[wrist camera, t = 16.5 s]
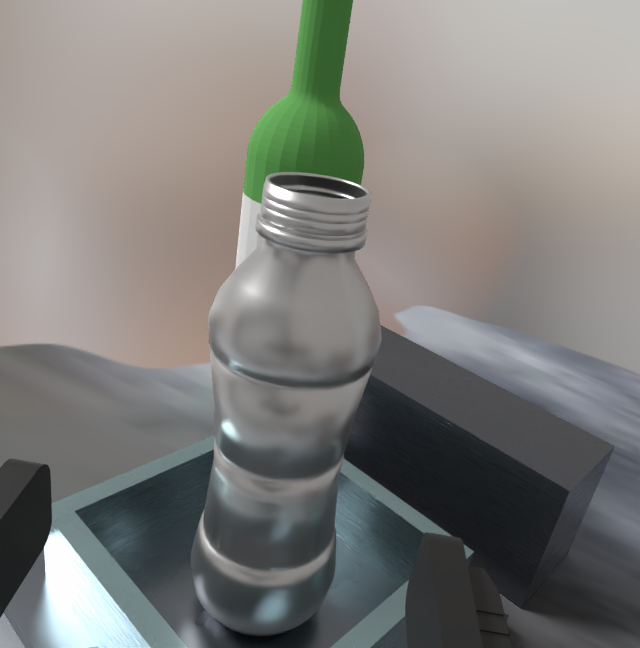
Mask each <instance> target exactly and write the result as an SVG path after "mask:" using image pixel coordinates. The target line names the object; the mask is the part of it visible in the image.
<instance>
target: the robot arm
mask: <svg viewBox="0 0 640 648" xmlns="http://www.w3.org/2000/svg"><path fill="white" fill-rule="evenodd" d="M51 524H52V503H51V479H50V469H49V466H48V465H46V464H40V463H35V462H29V461H23V460H17V459H9V460H7V461H6V462H5V463H4V464H3V465H2V466H1V468H0V617H1V616H2V614H3V612H4V611H5V609H6V608H7V606H8V604H9V603H10V601H11V600H12V598H13V596H14V595H15V593H16V592H17V590H18V588H19V587H20V585H21V584H22V582H23V580H24V579H25V577H26V576H27V574H28V572H29V571H30V569H31V568H32V566H33V564H34V563H35V561H36V560H37V558H38V556H39V555H40V553H41V552H42V550H43V548H44V546H45V544H46V542H47V539H48V537H49V533H50V530H51ZM405 617H406V632H407V648H512V645H511V640H510V639H509V632H508V628H507V623H506V619H504V611H503V606H502V602H501V598H500V594H499V590H498V589H497V587H496V586H495V584H494V583H493V581H492V580H491V578H490V577H489V575H488V574H487V572H486V571H485V569H484V568H478V567H473V566H468V565H467V560H466V554H465V549H464V544H463V541H462V539H461V538H458V537H452V536H446V535H440V534H435V533H429V532H426V533H425V534H424V536H423V538H422V541H421V544H420V548H419V551H418V554H417V557H416V560H415V563H414V566H413V570H412V573H411V576H410V579H409V582H408V587H407V593H406V602H405Z"/></svg>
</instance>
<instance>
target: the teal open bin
mask: <svg viewBox="0 0 640 648" xmlns="http://www.w3.org/2000/svg"><path fill="white" fill-rule="evenodd" d="M380 327H381V337H382V340H381V343H380V347H379V350H378V354H377V358H376V361H375V363H374V366H373V368H372V371H371V374H370V376H369V379H368V382H367V384H366V387H365V390H364V392H363V395H362V398H361V400H360V403H359V406H358V408H357V411H356V414H355V416H354V419H353V423H352V427H351V431H350V435H349V439H348V443H347V446H346V449H345V452H344V458H343V462H342V466H341V470H340V473H339V482H338V493H337V504H336V515H335V528H336V568H335V574H334V578H333V581H332V583H331V586H330V588H329V590H328V592H327V594H326V596H325V599H324V601H323V602H322V604H321V606H320V607H319V609H318V610H317V612H316V613H315V614H314V615H313V616H312V617H311V618H310V619H308V620H307V621H305V622H304V623H302V624H301V625H299V626H297V627H295V628H293V629H290V630H288V631H286V632H283V633H280V634H276V635H271V636H252V635H245V634H242V633H239V632H236V631H233V630H231V629H230V628H228V627H226V626H224V625H223V624H221V623H220V622H219V621H218V620H216V619H215V618H214V617H213V616H211V615H210V614H209V613H208V612H207V611H206V609H205V608H204V607H203V606H202V605H201V603H200V601H199V599H198V597H197V595H196V590H195V586H194V580H193V574H192V569H191V551H192V547H193V543H194V538H195V534H196V530H197V527H198V524H199V521H200V519H201V516H202V513H203V510H204V508H205V503H206V497H207V492H208V486H209V481H210V476H211V470H212V465H213V459H214V438H215V437H214V435H213V436H211V437H208V438H206V439H203V440H201V441H199V442H196V443H194V444H192V445H189V446H187V447H185V448H182V449H180V450H178V451H175V452H173V453H170V454H168V455H166V456H163V457H161V458H159V459H156V460H154V461H152V462H149V463H147V464H144V465H142V466H140V467H137V468H135V469H133V470H130V471H128V472H126V473H123V474H121V475H118V476H116V477H114V478H111V479H109V480H107V481H104V482H102V483H100V484H97V485H95V486H92V487H90V488H88V489H85V490H83V491H81V492H78V493H76V494H74V495H71V496H69V497H67V498H64V499H62V500H59V501H57V502H55V503H52V524H51V530H50V533H49V537H48V539H47V542H46V544H45V546H44V548H43V550H42V552H41V553H40V555H39V556H38V558H37V560H36V561H35V563H34V564H33V566H32V568H31V569H30V571H29V572H28V574H27V576H26V577H25V579H24V580H23V582H22V584H21V585H20V587H19V588H18V590H17V592H16V593H15V595H14V596H13V598H12V600H11V601H10V603H9V604H8V606H7V608H6V609H5V611H4V613H5V615H6V617H7V618H8V620H9V621H10V623H11V625H12V626H13V628H14V630H15V631H16V633H17V635H18V636H19V638H20V639H21V641H22V643H23V644H24V646H25V648H407V632H406V617H405V602H406V593H407V587H408V582H409V579H410V576H411V573H412V570H413V566H414V563H415V560H416V557H417V554H418V551H419V548H420V544H421V541H422V538H423V536H424V534H425V533H426V532H429V533H435V534H440V535H446V536H452V537H458V538H461V539H462V541H463V544H464V549H465V554H466V560H467V565H468V566H473V567H478V568H484V569H485V571H486V572H487V574H488V575H489V577H490V578H491V580H492V581H493V583H494V584H495V586H496V587H497V589H498V590H499V592H500V593H501V594H502V595H504V596H505V597H506V598H508V599H509V600H511V601H512V602H513V603H515V604H516V605H517V606H519V607H520V608H522V606H523V605H524V604H525V603H526V602H527V601H528V599H529V598H530V597H531V596H532V595H533V594H534V592H535V591H536V590H537V589H538V588H539V587H540V585H541V584H542V583H543V582H544V581H545V580H546V578H547V577H548V576H549V575H550V574H551V573H552V571H553V570H554V569H555V568H556V567H557V566H558V564H559V563H560V562H561V561H562V560H563V559H564V557H565V556H566V555H567V553H568V551H569V549H570V547H571V544H572V542H573V540H574V537H575V535H576V533H577V531H578V528H579V526H580V524H581V522H582V519H583V517H584V515H585V512H586V510H587V508H588V506H589V503H590V501H591V499H592V497H593V494H594V492H595V490H596V487H597V485H598V483H599V481H600V478H601V476H602V474H603V471H604V469H605V467H606V465H607V462H608V460H609V458H610V456H611V453H612V451H613V449H614V446H613V445H611V444H609V443H607V442H605V441H603V440H601V439H599V438H597V437H595V436H594V435H592V434H590V433H588V432H586V431H584V430H582V429H580V428H578V427H576V426H574V425H572V424H570V423H568V422H567V421H565V420H563V419H561V418H559V417H557V416H555V415H553V414H551V413H549V412H547V411H545V410H543V409H541V408H539V407H538V406H536V405H534V404H532V403H530V402H528V401H526V400H524V399H522V398H520V397H518V396H516V395H514V394H512V393H511V392H509V391H507V390H505V389H503V388H501V387H499V386H497V385H495V384H493V383H491V382H489V381H487V380H485V379H483V378H482V377H480V376H478V375H476V374H474V373H472V372H470V371H468V370H466V369H464V368H462V367H460V366H458V365H456V364H455V363H453V362H451V361H449V360H447V359H445V358H443V357H441V356H439V355H437V354H435V353H433V352H431V351H429V350H427V349H426V348H424V347H422V346H420V345H418V344H416V343H414V342H412V341H410V340H408V339H406V338H404V337H402V336H400V335H399V334H396V333H395V332H392V331H391V330H389V329H387V328H385V327H383V326H381V325H380ZM507 618H508V615H507V614H505V613H504V619H506V621H507Z"/></svg>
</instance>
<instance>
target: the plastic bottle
mask: <svg viewBox="0 0 640 648" xmlns="http://www.w3.org/2000/svg"><path fill="white" fill-rule="evenodd" d="M370 196H371V192H370V191H369V190H368V189H367V188H365V187H363V186H361V185H359V184H356V183H354V182H351V181H347V180H344V179H340V178H336V177H331V176H326V175H319V174H312V173H301V172H280V173H273V174H270V175H268V176H267V177H266V179H265V183H264V186H263V194H262V202H261V210H260V213H258V215H257V218H256V226H255V229H256V232H257V233H258V234H259V235H260V236H261V237H263V238H262V241H261V245H260V246H259V247H258V248H257V249H255V250H254V251H253V252H252V253H251V254H250V255H249V256H248V257H247V258H246V259H245V260H244V261H243V262H242V263H241V264H240V265H239V266H238V267H237V268H236V269H235V271H234V272H233V273H232V274H231V275H230V276H229V278H228V279H227V280H226V281H225V282H224V284H223V285H222V286H221V287H220V289H219V291H218V293H217V295H216V298H215V300H214V303H213V305H212V307H211V310H210V312H209V344H210V358H211V369H212V380H213V391H214V402H215V419H214V437H215V438H214V459H213V465H212V470H211V476H210V481H209V486H208V492H207V497H206V503H205V508H204V510H203V513H202V516H201V519H200V521H199V524H198V527H197V530H196V534H195V538H194V543H193V547H192V551H191V569H192V574H193V580H194V586H195V590H196V595H197V597H198V599H199V601H200V603H201V605H202V606H203V607H204V608H205V609H206V611H207V612H208V613H209V614H210V615H211V616H213V617H214V618H215V619H216V620H218V621H219V622H220V623H221V624H223V625H224V626H226V627H228V628H230V629H231V630H233V631H236V632H239V633H242V634H245V635H252V636H271V635H276V634H280V633H283V632H286V631H288V630H290V629H293V628H295V627H297V626H299V625H301V624H302V623H304V622H305V621H307V620H308V619H310V618H311V617H312V616H313V615H314V614H315V613H316V612H317V610H318V609H319V607H320V606H321V604H322V602H323V601H324V599H325V596H326V594H327V592H328V590H329V588H330V586H331V583H332V581H333V578H334V574H335V568H336V528H335V515H336V504H337V493H338V482H339V473H340V470H341V466H342V462H343V458H344V452H345V449H346V446H347V443H348V439H349V435H350V431H351V427H352V423H353V419H354V416H355V414H356V411H357V408H358V406H359V403H360V400H361V398H362V395H363V392H364V390H365V387H366V384H367V382H368V379H369V376H370V374H371V371H372V368H373V366H374V363H375V361H376V358H377V354H378V350H379V347H380V343H381V340H382V337H381V327H380V318H379V310H378V308H377V305H376V303H375V300H374V298H373V295H372V292H371V290H370V287H369V286H368V283H367V281H366V280H365V278H364V276H363V274H362V272H361V270H360V268H359V266H358V264H357V262H356V260H355V251H356V250H359V249H361V248H363V246H364V245H365V241H366V237H367V230H366V228H365V227H366V222H367V217H368V212H369V207H370V202H371V198H370Z"/></svg>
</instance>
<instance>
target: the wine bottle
mask: <svg viewBox="0 0 640 648" xmlns="http://www.w3.org/2000/svg"><path fill="white" fill-rule="evenodd" d="M352 3H353V0H303V4H302V12H301V20H300V27H299V35H298V43H297V50H296V58H295V65H294V74H293V81H292V85H291V89H290V92H289V93H288V94H287V95H286V96H285V97H284V98H282V99H281V100H279V101H278V102H276V103H275V104H274V105H273V106H271V107H270V108H269V109H268V110H267V111H266V112H265V114H264V115H263V116H262V117H261V119H260V120H259V122H258V123H257V125H256V127H255V129H254V131H253V133H252V135H251V138H250V142H249V146H248V152H247V161H246V171H245V182H244V190H243V198H242V208H241V218H240V229H239V238H238V248H237V258H236V268H237V267H238V266H239V265H240V264H241V263H242V262H243V261H244V260H245V259H246V258H247V257H248V256H249V255H250V254H251V253H252V252H253V251H254V250H255V249H257V248H258V247H259V246H260V245H261V241H262V238H263V237H261V236H260V235H259V234H258V233H257V232H256V229H255V226H256V218H257V215H258V213H260V210H261V202H262V194H263V186H264V183H265V179H266V177H267V176H268V175H270V174H273V173H280V172H301V173H312V174H319V175H326V176H331V177H336V178H340V179H344V180H347V181H351V182H354V183H356V184H359V185H361V180H362V175H363V168H364V150H363V144H362V139H361V136H360V133H359V130H358V128H357V126H356V124H355V122H354V120H353V118H352V117H351V115H350V114H349V113H348V112H347V110H346V109H345V108H344V107H343V105H342V104H341V101H340V84H341V78H342V71H343V64H344V58H345V51H346V44H347V37H348V30H349V23H350V17H351V10H352ZM236 268H235V269H236Z"/></svg>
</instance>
